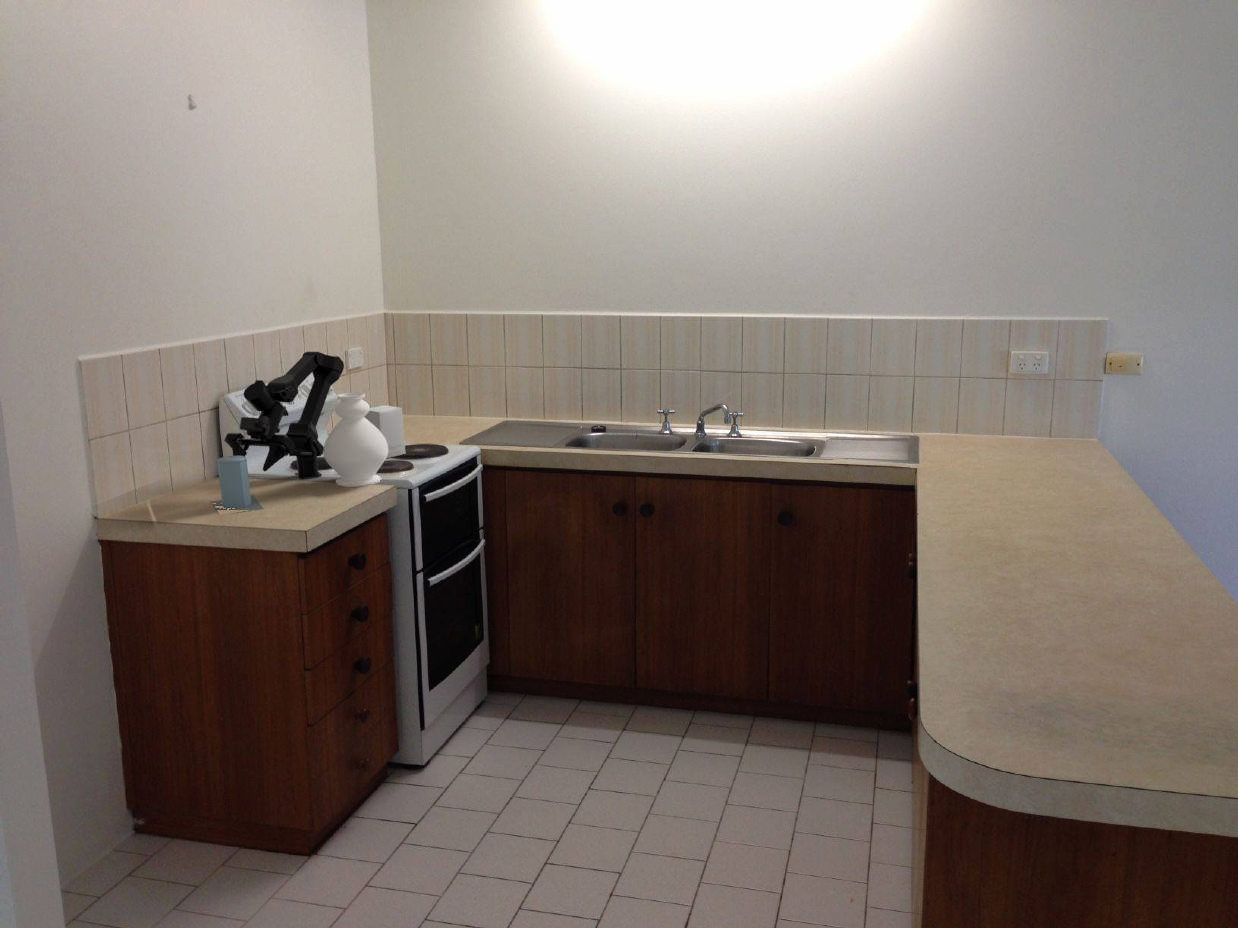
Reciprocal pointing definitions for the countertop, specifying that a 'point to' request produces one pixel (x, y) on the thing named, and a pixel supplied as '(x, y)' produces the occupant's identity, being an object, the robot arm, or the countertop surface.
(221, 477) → the tumbler
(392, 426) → the supplement box
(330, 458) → the decorative vase
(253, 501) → the mat
